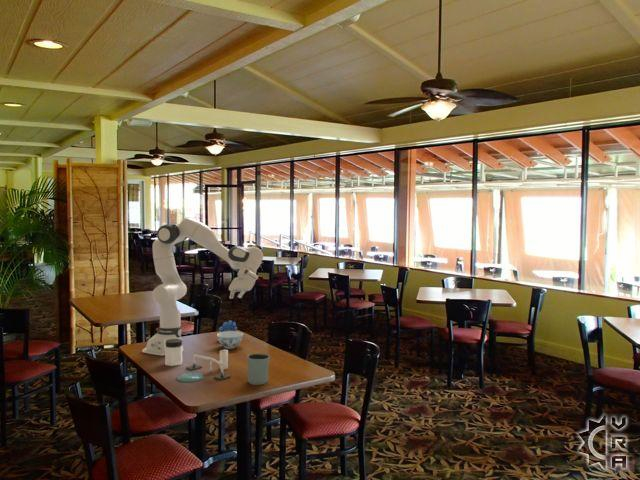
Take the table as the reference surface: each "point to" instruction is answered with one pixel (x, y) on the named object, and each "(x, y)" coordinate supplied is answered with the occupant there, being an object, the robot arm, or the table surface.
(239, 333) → the chinaware
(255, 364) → the grey-green open cylinder
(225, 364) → the salt shaker
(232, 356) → the table surface
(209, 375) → the table surface
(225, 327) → the grapes
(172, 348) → the jar
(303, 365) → the table surface
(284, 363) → the table surface
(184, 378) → the saucer
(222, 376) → the bent bar stand
